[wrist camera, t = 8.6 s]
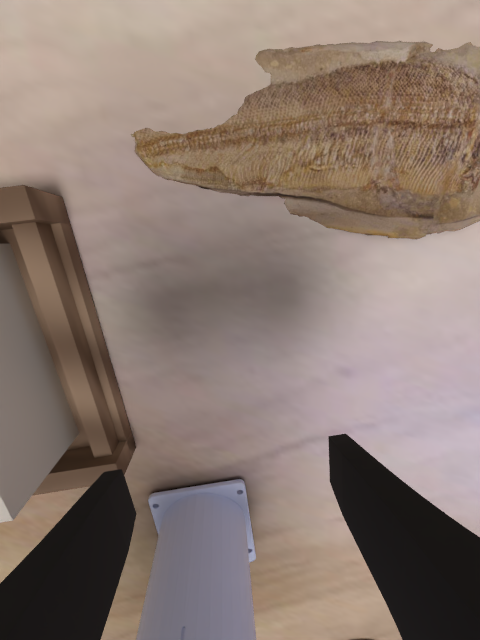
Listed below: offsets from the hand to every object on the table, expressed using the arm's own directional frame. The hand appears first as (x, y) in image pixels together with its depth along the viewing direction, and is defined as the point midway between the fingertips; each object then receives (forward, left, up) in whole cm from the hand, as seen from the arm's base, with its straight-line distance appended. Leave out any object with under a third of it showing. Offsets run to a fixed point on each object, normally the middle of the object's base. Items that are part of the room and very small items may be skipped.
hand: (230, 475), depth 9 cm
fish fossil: (+13, -9, -11) cm, 19 cm away
